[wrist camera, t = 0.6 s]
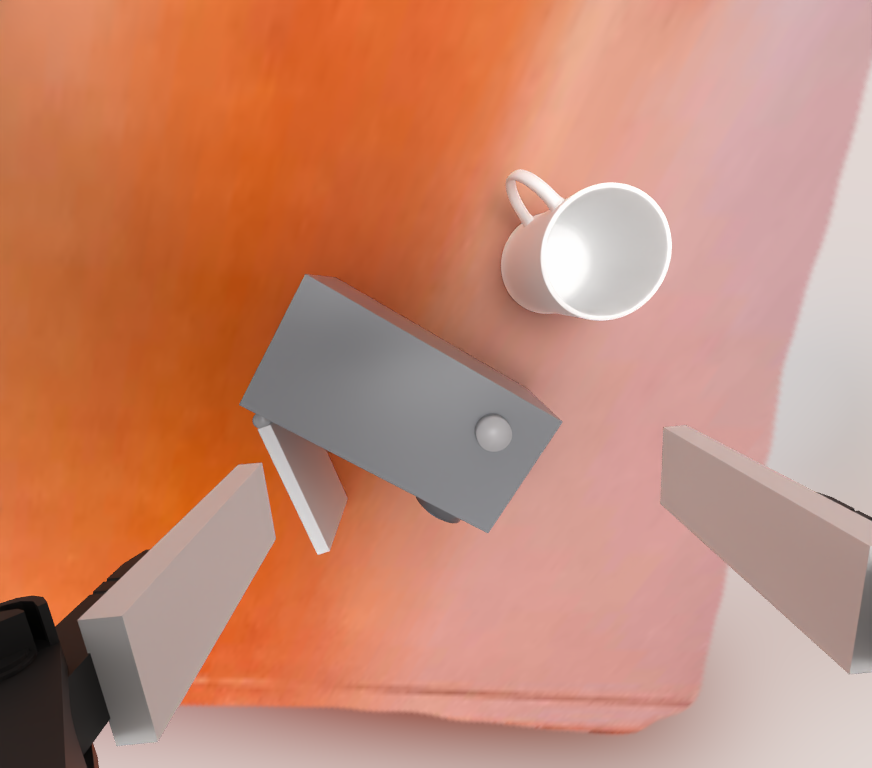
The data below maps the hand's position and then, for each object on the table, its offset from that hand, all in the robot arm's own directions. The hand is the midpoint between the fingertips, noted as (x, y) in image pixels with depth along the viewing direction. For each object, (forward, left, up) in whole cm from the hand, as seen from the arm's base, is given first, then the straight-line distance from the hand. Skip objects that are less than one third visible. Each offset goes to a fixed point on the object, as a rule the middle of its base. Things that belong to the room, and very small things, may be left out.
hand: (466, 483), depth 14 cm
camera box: (-1, -3, -26) cm, 26 cm away
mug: (+3, +13, -26) cm, 29 cm away
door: (-6, -13, -26) cm, 29 cm away
